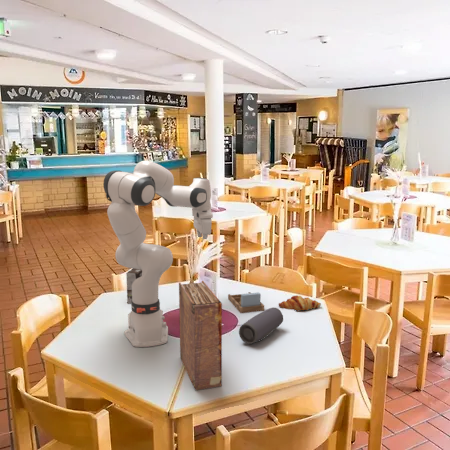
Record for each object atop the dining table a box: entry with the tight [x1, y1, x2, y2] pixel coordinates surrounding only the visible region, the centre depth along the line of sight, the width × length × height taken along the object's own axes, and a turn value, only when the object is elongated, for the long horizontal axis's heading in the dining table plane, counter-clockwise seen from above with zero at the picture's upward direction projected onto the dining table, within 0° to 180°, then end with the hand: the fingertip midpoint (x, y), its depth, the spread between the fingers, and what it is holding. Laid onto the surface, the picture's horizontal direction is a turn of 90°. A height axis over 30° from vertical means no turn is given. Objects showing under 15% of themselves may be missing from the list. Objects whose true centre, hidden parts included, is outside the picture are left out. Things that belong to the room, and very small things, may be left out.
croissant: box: [278, 295, 322, 311], centre depth 229 cm, size 21×10×8 cm, turn 97°
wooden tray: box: [227, 292, 265, 314], centre depth 231 cm, size 20×12×4 cm, turn 17°
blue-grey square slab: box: [241, 291, 262, 307], centre depth 224 cm, size 2×9×8 cm, turn 107°
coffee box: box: [125, 268, 142, 304], centre depth 238 cm, size 9×6×16 cm
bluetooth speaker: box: [238, 306, 284, 345], centre depth 196 cm, size 23×9×10 cm, turn 145°
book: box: [178, 280, 223, 391], centre depth 166 cm, size 25×9×30 cm, turn 17°
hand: (201, 240), depth 223 cm, fingers open, 8 cm apart
